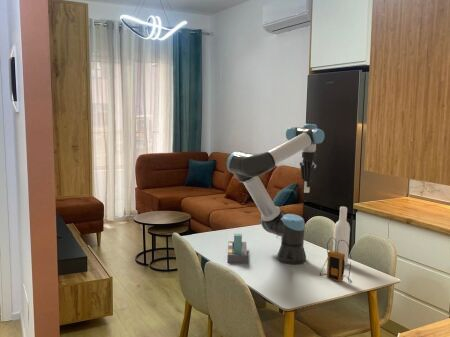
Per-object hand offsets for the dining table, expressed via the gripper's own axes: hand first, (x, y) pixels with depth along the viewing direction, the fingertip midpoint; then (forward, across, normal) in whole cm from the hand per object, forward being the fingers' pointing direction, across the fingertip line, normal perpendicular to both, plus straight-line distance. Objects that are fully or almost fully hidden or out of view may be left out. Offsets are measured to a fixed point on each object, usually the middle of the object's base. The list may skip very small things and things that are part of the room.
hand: (306, 192), depth 253 cm
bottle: (+33, -30, 0) cm, 44 cm away
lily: (+33, +19, +1) cm, 38 cm away
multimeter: (+33, -45, +15) cm, 58 cm away
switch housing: (+32, +2, +44) cm, 54 cm away
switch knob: (+30, -3, +47) cm, 55 cm away
